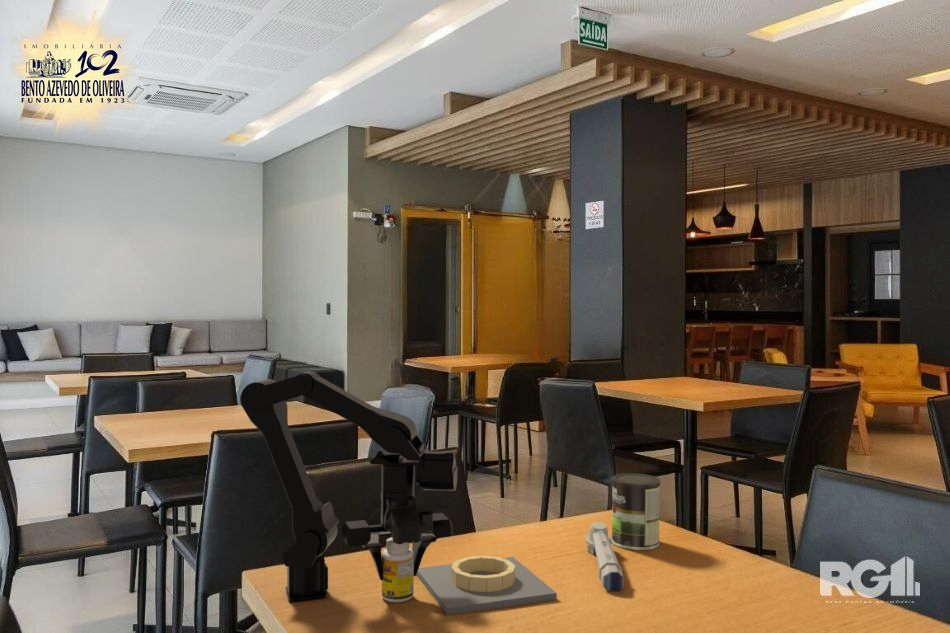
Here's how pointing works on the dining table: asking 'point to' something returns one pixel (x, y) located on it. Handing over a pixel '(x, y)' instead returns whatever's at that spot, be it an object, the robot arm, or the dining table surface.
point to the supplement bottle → (397, 572)
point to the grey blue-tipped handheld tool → (605, 557)
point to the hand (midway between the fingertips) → (397, 577)
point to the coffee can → (635, 511)
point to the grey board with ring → (483, 584)
